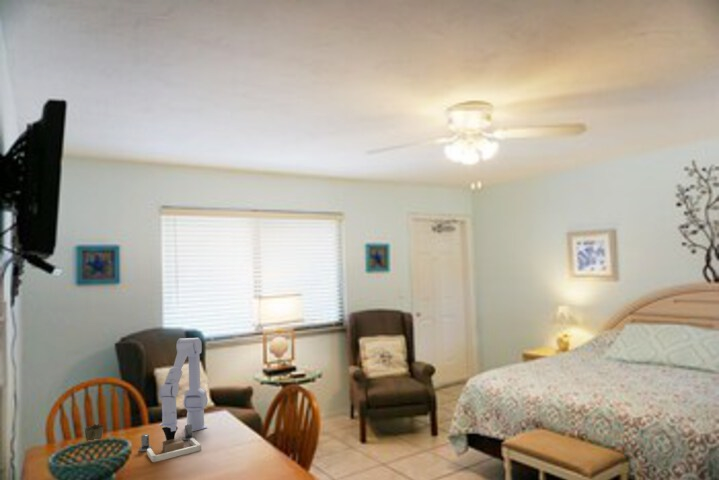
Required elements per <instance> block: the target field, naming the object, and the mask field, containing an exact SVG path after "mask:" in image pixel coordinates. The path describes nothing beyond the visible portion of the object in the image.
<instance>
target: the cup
mask: <svg viewBox="0 0 719 480" xmlns="http://www.w3.org/2000/svg"><path fill="white" fill-rule="evenodd" d="M103 435H104V424H103V423H102V424H101V425H100V424H99V423H98V424H97V423H95V424H93V425H90V426H86V427H85V428H84V436H85V439H86V441H87V442H88V440H94V439H100V440H101V439H102V437H103Z"/></svg>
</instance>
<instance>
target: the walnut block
mask: <svg viewBox="0 0 719 480" xmlns="http://www.w3.org/2000/svg"><path fill="white" fill-rule="evenodd" d="M183 448H185V441H183V438H181V437H176V438H175V437H174V439H171V440H167V441H166V440H164V441H162V451H163V453H167V452H171V451H175V450H179V449H183Z"/></svg>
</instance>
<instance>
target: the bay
mask: <svg viewBox="0 0 719 480" xmlns="http://www.w3.org/2000/svg"><path fill="white" fill-rule="evenodd" d="M189 444H190V445H191V446H188V447H184V448H183V449H179V450H175V451H171V452H167V453H164V452H163V453H159V454H155V452H154V451H153V448H152V449H151V448H149V449H147V451H146V455H147V456H148V458H149V459H150V461H151V462H152V463H156V462H161V461H164V460H168V459H173V458H176V457H179V456H183V455H187V454H190V453H191V454H192V453H195V452H200V451H202V445H201V444H200V443H199V441H197V440H196V439H194V438H191V439H190V441H189Z"/></svg>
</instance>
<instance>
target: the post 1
mask: <svg viewBox="0 0 719 480" xmlns="http://www.w3.org/2000/svg"><path fill="white" fill-rule="evenodd" d="M140 438H141V440H140V441H141V447H139V448H138V452H139V451H140V453H145V452H146V453H147V449H149V448H151V449H152V450H153V446H152V445H150V434H148V433H145V434H142V435H140Z"/></svg>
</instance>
